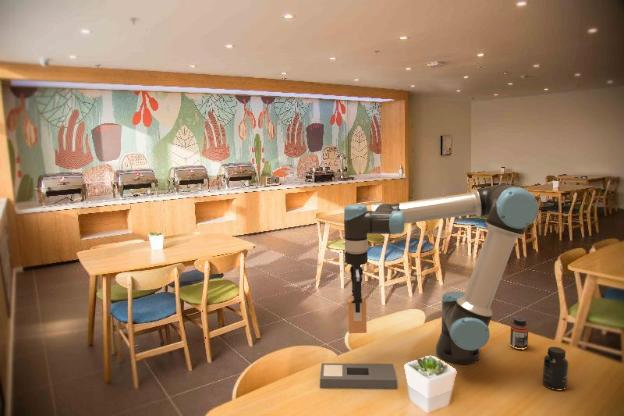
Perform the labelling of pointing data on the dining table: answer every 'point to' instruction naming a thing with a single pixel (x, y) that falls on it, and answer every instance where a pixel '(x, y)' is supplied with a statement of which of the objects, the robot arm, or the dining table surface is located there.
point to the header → (358, 376)
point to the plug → (356, 325)
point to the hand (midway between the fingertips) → (357, 318)
